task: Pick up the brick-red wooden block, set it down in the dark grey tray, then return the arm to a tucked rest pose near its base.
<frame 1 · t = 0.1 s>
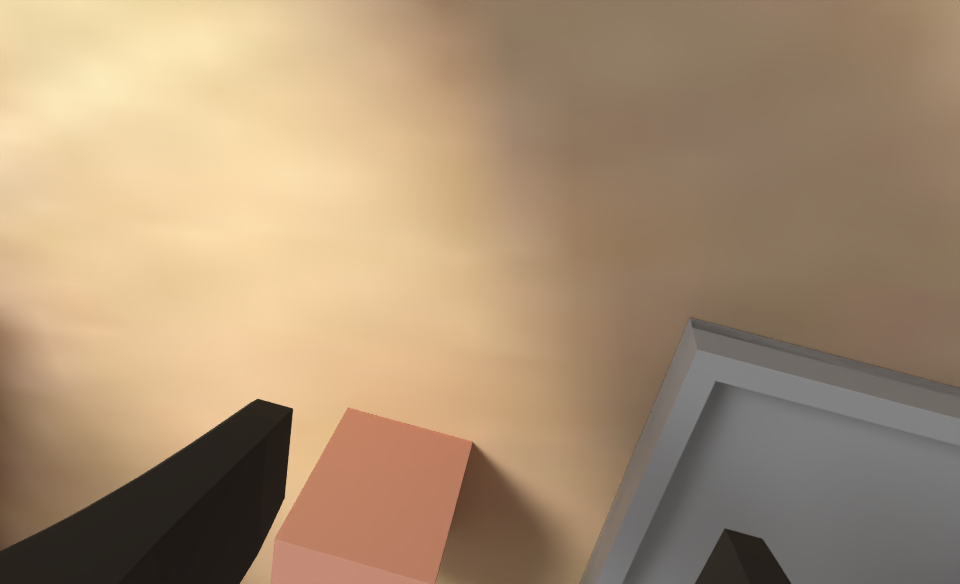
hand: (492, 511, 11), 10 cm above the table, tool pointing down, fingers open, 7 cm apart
grey tray: (794, 560, 24), on the table
red block: (400, 471, 25), on the table
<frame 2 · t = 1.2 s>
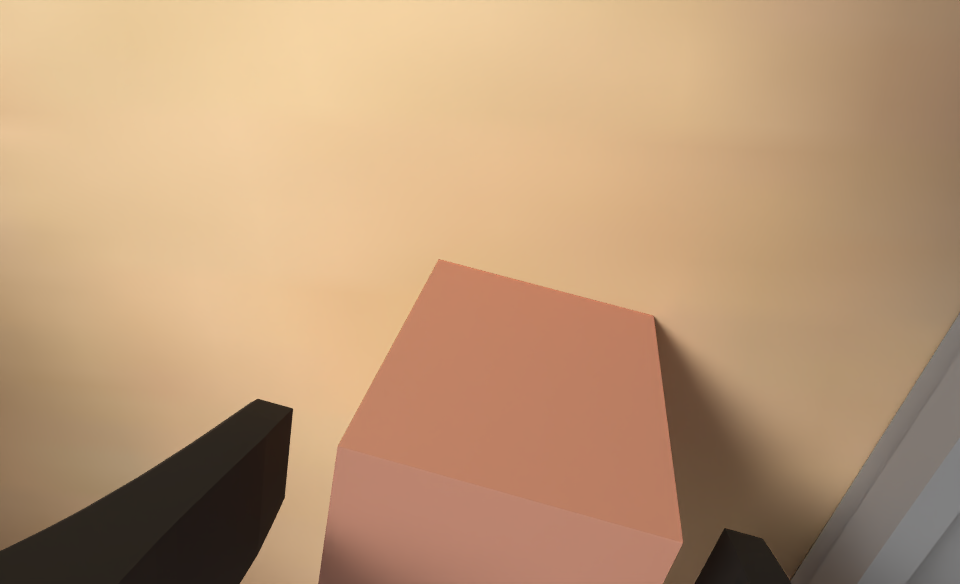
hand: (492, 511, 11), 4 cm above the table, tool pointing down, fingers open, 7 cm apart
red block: (519, 375, 15), on the table
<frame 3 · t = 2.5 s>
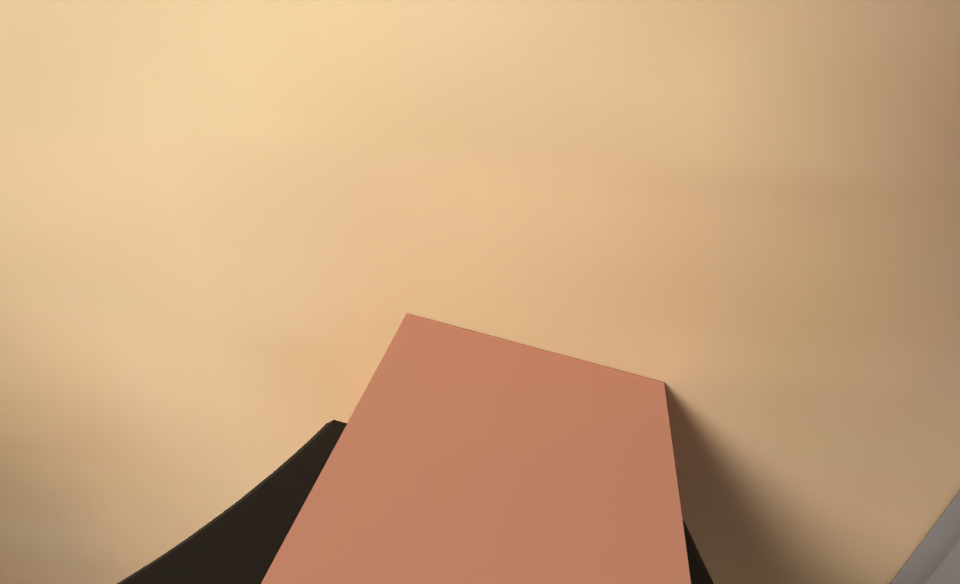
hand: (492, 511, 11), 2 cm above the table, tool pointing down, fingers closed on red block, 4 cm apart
red block: (504, 447, 13), on the table, touching gripper
when the fingers open (4 cm above the table, at t = 6.2 s): red block drops 1 cm, resting on grey tray.
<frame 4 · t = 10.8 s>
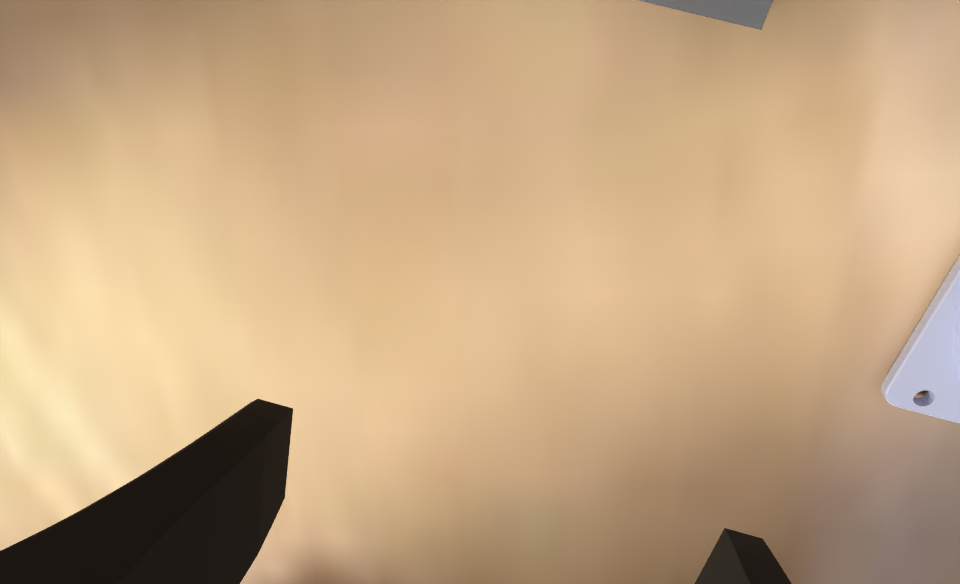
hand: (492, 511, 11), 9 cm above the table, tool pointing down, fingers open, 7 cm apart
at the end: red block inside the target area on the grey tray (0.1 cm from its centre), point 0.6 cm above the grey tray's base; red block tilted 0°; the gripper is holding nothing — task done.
